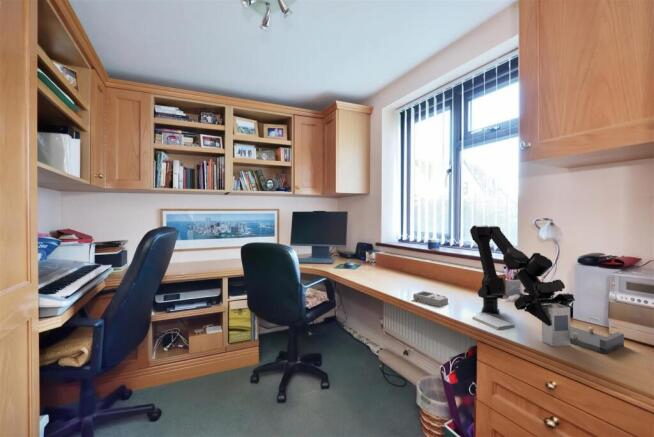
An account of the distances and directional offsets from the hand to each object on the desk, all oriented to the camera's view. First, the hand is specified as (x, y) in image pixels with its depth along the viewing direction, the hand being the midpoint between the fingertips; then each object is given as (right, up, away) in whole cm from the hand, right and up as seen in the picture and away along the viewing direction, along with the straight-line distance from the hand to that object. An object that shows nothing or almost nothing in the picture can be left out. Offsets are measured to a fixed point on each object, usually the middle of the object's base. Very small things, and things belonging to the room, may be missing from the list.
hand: (559, 325), depth 93 cm
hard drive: (-10, -7, +20) cm, 24 cm away
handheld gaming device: (-24, -7, +49) cm, 55 cm away
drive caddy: (0, -7, +1) cm, 7 cm away
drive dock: (+11, -6, +3) cm, 13 cm away
